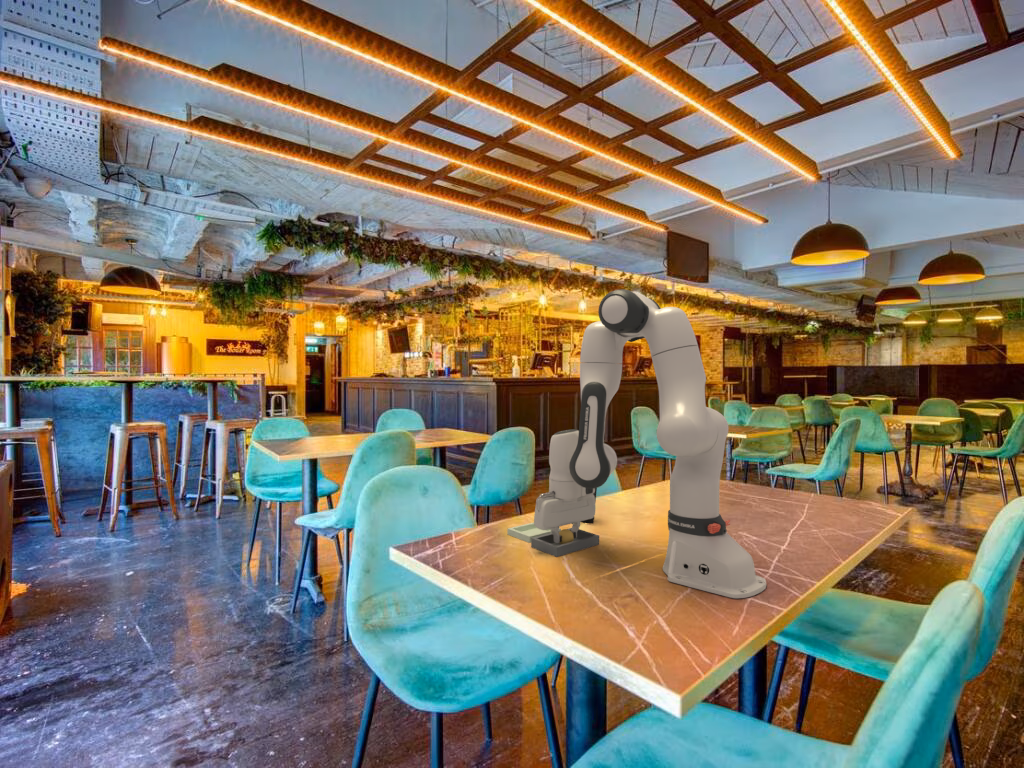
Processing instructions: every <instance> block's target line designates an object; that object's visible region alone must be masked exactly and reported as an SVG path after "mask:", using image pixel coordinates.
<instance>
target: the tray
mask: <svg viewBox="0 0 1024 768" xmlns="http://www.w3.org/2000/svg"><path fill="white" fill-rule="evenodd" d="M561 530H562V529H561V528H560V527H559V530H558V531H561ZM506 531H507V535H508V536H511V537H513V538H516V539H519V540H521V541H523V542H526V543H529V544H531V538H534V537H538V536H541V535H545V534H549V533H552V532H551V530H550V529H547V530H541V529H538V528H536V527H535V525H534V521H533V522H530V523H524V524H521V525H516V526H512V527H508V528H507V530H506Z"/></svg>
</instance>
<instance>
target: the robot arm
mask: <svg viewBox="0 0 1024 768" xmlns="http://www.w3.org/2000/svg"><path fill="white" fill-rule="evenodd" d="M598 317H599V320H598V321H595V322H592V323H590V324H588V325H587V326H586V327H585V330H584V332H583V336H582V342H581V347H580V355H579V356H580V360H579V385H580V413H579V423H578V425H579V426H578V429H566V430H561V431H557V432H555V433H554V434H553V435H551V438H550V443H549V455H548V464H549V466H550V472H549V477H548V481H549V482H548V483H549V484H548V485H549V487H548V492H545V493H541V494H539V496H537V498H536V501H535V509H534V515H533V517H534V518H533V522H534V525H535V527H536V528H538V529H541V530H547V529H550V530H551V532H552V534H553V535H554V542H556V543H559V542H562V536H561V535H559V533H558V530H559V528H560V527H562V526H563V527H564V526H567V525H571V528H572V529H571V532H572V533H573V536H574V538H577V532H578V529H580V527H581V522H580V521H584V520H588V519H592V518H593V517H594V518H595V515H596V503H595V496H594V495H593V493H595V488H597V489H598V488H600V487H601V486H603V485H604V484H605V483H606V482H607V480H608V479H609V477H610V476H611V475H612V474H613V472H614V471H615V470H616V468H617V465H618V455H617V452H616V451H615V449H614V447H612V446H611V445H609V444H607V443H605V429H606V415H607V411H608V407H609V405H610V403H611V401H612V399H613V397H614V396H615V394H616V393H617V392H618V391H619V388H620V385H621V379H622V373H623V352H624V347H625V344H626V343H627V342H629V343H633V342H636V341H639V340H642V339H645V340H646V342H647V344H648V348H649V352H650V357H651V359H652V364H653V365H652V366H653V369H654V374H655V377H656V382H657V387H658V388H657V389H658V396H659V398H658V400H659V403H658V404H659V420H658V421H659V422H658V425H657V428H656V440H657V442H658V444H659V446H660V447H661V449H662V450H664V452H666V453H667V454H669V455H672V456H675V462H674V466H673V470H672V472H671V474H670V478H669V510H668V511H667V529H668V541H667V542H668V543H667V549H666V554H665V557H664V558H665V559H664V563H663V566H662V571H663V573H664V574H665V575H667V581H668V582H671V583H674V584H678V585H681V586H685V587H689V588H692V589H696V590H700V591H704V592H707V593H712V594H716V595H720V596H723V597H725V598H730V599H745V598H750V597H754V596H755V595H758V594H761V593H762V592H763V591H764V590H766V588H767V580H766V578H764V577H762V576H760V575H757V574H756V570H755V569H756V568H755V567H756V566H755V563H754V559H753V557H752V555H751V554H750V553H749V552H748V551H747V550H746V549H745V548H744V547H743V546H741V545H740V544H739V543H738V542H737V541H736V539H734V538H733V537H732V536H731V535H730V534H729V533H728V530H727V527H728V526H730V525H731V523H730V522H731V520H730V519H729V520H728V519H727V520H724V518H723V517H722V514H721V513H720V480H721V473H722V466H723V462H724V455H725V447H726V440H727V438H728V437H727V436H728V434H729V423H728V421H727V419H726V418H725V416H724V415H723V414H722V413H720V412H719V411H718V410H716V409H714V408H711V407H707V405H706V403H707V402H706V382H707V376H706V372H705V368H704V365H703V360H702V355H701V353H700V348H699V344H698V341H697V338H696V334H695V331H694V329H693V327H692V324H691V322H690V320H689V318H688V316H687V314H686V312H685V311H684V310H683V309H681V308H679V307H677V306H665V307H663V308H661V306H660V305H659V304H658V303H657V302H656V300H654V299H652V298H649V297H647V296H645V295H644V294H642V293H639V292H636V291H631V290H629V289H615V290H612V291H610V292H608V293H607V294H605V295H604V296H603V298H602V299H601V301H600V303H599V306H598Z"/></svg>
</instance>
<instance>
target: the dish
mask: <svg viewBox="0 0 1024 768" xmlns="http://www.w3.org/2000/svg"><path fill="white" fill-rule="evenodd" d="M567 529H568V530H570V531H571V529H572V527H569V528H567ZM559 532H560V531H558V533H559ZM598 545H599V546H600V535H599V534H596V533H592V532H589V531H586V530H582V529H580V528H579V529H578V532H577V538H574V540H573V541H572V542H569V543H565V544H560V543H556V542H554V535H553V534H552V533H549V534H545V535H541V536H538V537H534V538H531V543H530V547H531V548H532V549H535V550H538V551H540V552H543V553H544V554H545V553H546V554H547V555H551V556H553V557H556V558H559V557H561V556H565V555H568V554H571V553H572V554H573V553H575V552H578V551H582V550H586V549H589V548H591V547H595V546H598Z"/></svg>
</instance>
